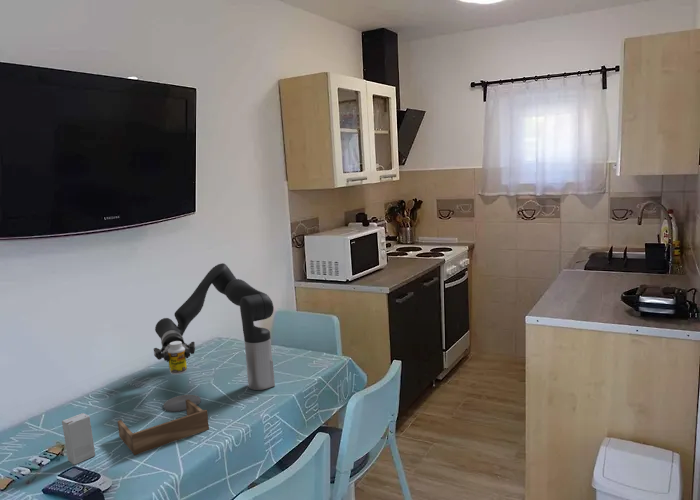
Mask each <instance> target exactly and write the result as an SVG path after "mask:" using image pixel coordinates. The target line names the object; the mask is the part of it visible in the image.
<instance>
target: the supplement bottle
mask: <svg viewBox="0 0 700 500" xmlns="http://www.w3.org/2000/svg"><path fill="white" fill-rule="evenodd" d="M169 345H170V348H169V349H168V356H169V362H168V369H169V373H170V374H171V375H181V374H184V373H186V372H187V370H188V367H187V358H186V355H185V348H184V347H183V346H182V342H181V341H174V342H171V343H170V344H169Z"/></svg>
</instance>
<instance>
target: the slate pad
mask: <svg viewBox="0 0 700 500" xmlns="http://www.w3.org/2000/svg"><path fill="white" fill-rule="evenodd" d="M187 399H189V400H190V401H192V402H193V403H194V404H195V405H197V406H198V407H199V405H200V404H201V397H200V396H199V395H195V394H183V395H182V394H181V395H177V396H174V397H171V398H169V399H167V400H166V401H165V402H164V403H163V409H164V410H165V411H166V412H171V413H177V412H185V411H186V412H187V410H186V400H187Z"/></svg>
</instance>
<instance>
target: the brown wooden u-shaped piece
mask: <svg viewBox="0 0 700 500" xmlns="http://www.w3.org/2000/svg"><path fill="white" fill-rule="evenodd" d="M208 414H209V413H208V409H202V408H201V407H199V405H198V406H197V405H195V404H194V403H193V402H192V401H190V400H189V399H187V400H186V415H185V416H182V417H179V418H175V419H173V420H169V421H166V422H163V423H160V424H157V425H154V426H151V427H148V428H145V429H142V430H139V431H136V432H132V431H131V429H130V428H129V427H128V426H127V425H126V424H125V422H123V420H122V419H119V420H117V421H116V422H117V428H118V436H119V438H120V439H121V441H122V442H123V443H124V445H126V447H127V448H128V449H129V450H130V451H131V452H132V454H133V455H134V456H137V455H139V454H140V455H141V454H143V453H145V452H148V451H151V450H153V449H154V450H155V449H157V448H159V447H162V446H165V445H167V444H168V445H169V444H171V443H174V442H177V441H179V440H183V439H186V438H188V437H191V436H193V435H197V434H199V433H202V432H206V431H208V430H210V427H209V426H210V425H209V416H208Z"/></svg>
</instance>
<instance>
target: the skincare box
mask: <svg viewBox="0 0 700 500" xmlns="http://www.w3.org/2000/svg"><path fill="white" fill-rule="evenodd" d="M61 424H62V430H63V437H64V443H65V448H66V456H67V461H68V462H70V463H71V464H72V465H77V464H80V463H82V462H84V461H86V460H88V459H91V458H93V457H95V456H96V450H95V443H94V438H93V437H94V436H93V430H92V424H91V417H90V415H88V414H86V413H84V412H82V413H80V414H77V415H74V416H71V417H69V418H67V419H63V420H61Z"/></svg>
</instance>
